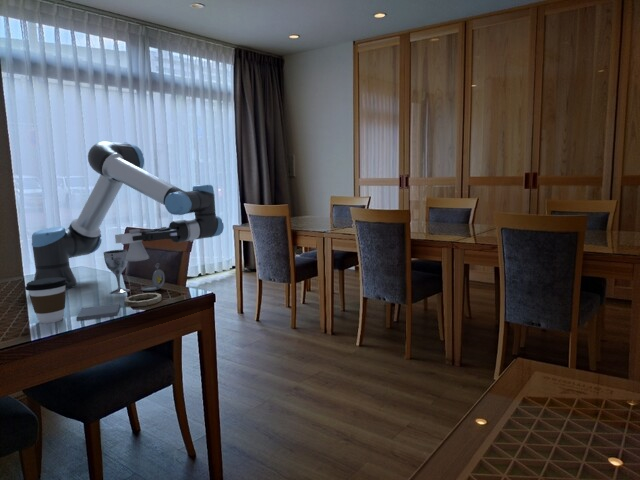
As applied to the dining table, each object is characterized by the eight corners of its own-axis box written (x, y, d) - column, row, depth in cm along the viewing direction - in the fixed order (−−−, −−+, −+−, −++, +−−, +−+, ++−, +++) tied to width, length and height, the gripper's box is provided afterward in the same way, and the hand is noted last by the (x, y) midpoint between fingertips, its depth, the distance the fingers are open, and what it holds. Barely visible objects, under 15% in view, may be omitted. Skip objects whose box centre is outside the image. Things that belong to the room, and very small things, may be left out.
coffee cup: (74, 320, 139) (69, 280, 138) (31, 328, 133) (26, 287, 131) (69, 312, 148) (64, 275, 146) (28, 320, 142) (23, 281, 140)
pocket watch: (142, 288, 177) (139, 262, 175) (165, 286, 179) (163, 260, 178) (141, 293, 169) (138, 266, 168) (165, 291, 172) (163, 263, 170)
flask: (141, 262, 150) (138, 230, 149) (121, 262, 152) (117, 231, 150) (153, 258, 157) (150, 228, 156) (134, 258, 159) (131, 228, 157)
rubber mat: (82, 310, 149) (82, 307, 149) (120, 306, 153) (119, 303, 153) (76, 320, 139) (76, 317, 139) (117, 315, 142) (116, 312, 142)
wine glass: (128, 293, 171) (124, 252, 169) (105, 295, 170) (100, 253, 168) (133, 288, 179) (129, 249, 177) (111, 289, 177) (106, 250, 175)
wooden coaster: (126, 299, 161) (125, 295, 161) (161, 295, 164) (161, 291, 164) (123, 308, 150) (123, 303, 150) (161, 303, 154) (161, 299, 153)
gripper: (197, 242, 162) (132, 253, 145) (171, 239, 173) (108, 249, 155) (195, 220, 161) (130, 228, 144) (169, 219, 172) (105, 226, 154)
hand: (119, 239), depth 149 cm, fingers closed on flask, 3 cm apart
